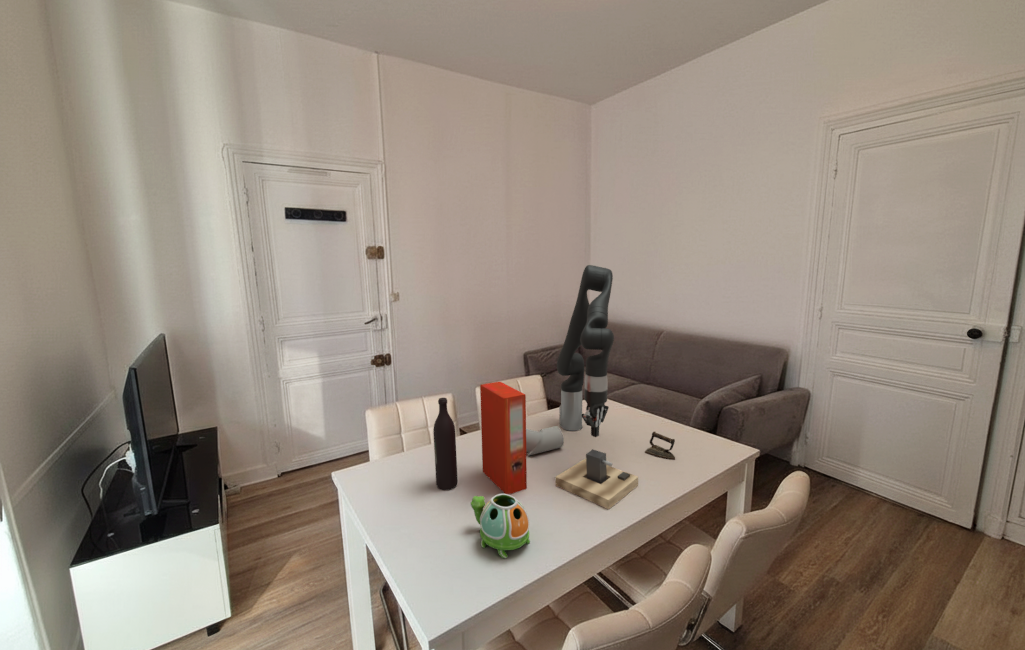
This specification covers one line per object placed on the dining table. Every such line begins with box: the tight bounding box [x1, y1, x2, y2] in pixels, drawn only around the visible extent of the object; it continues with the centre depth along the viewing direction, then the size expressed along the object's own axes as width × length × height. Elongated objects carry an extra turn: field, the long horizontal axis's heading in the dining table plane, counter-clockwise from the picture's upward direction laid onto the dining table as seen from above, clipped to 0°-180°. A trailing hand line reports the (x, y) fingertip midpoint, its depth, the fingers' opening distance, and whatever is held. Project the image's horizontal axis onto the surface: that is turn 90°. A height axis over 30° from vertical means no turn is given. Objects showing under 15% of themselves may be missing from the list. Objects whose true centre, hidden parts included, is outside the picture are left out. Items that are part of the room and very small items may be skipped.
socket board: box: [554, 457, 639, 510], centre depth 135 cm, size 20×18×4 cm
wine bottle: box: [432, 397, 458, 491], centre depth 135 cm, size 7×7×30 cm
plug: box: [585, 448, 613, 484], centre depth 133 cm, size 8×4×10 cm, turn 47°
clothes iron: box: [644, 431, 676, 461], centre depth 154 cm, size 7×11×10 cm, turn 40°
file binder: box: [479, 381, 528, 495], centre depth 137 cm, size 8×17×32 cm, turn 29°
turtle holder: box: [470, 493, 531, 559], centre depth 109 cm, size 12×18×12 cm
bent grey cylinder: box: [526, 425, 565, 457], centre depth 162 cm, size 18×11×20 cm
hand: (594, 435), depth 140 cm, fingers closed
